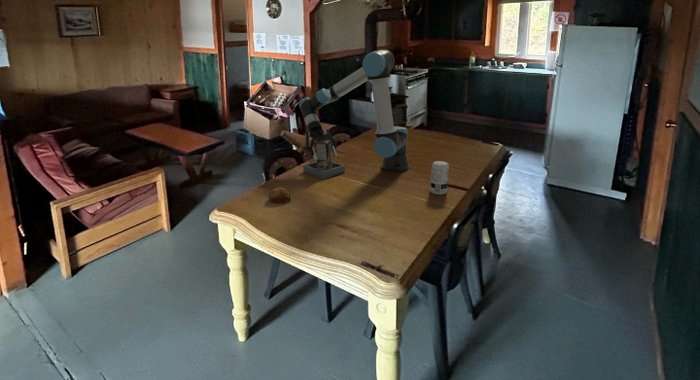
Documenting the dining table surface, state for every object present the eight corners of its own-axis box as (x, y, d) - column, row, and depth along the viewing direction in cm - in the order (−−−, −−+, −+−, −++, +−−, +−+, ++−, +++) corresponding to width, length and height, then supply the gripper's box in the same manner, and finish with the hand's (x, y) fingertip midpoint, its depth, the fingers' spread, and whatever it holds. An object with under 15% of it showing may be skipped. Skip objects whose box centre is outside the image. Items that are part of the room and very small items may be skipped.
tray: (344, 172, 271) (344, 165, 270) (322, 179, 261) (322, 172, 259) (325, 165, 282) (325, 159, 281) (303, 172, 272) (303, 165, 270)
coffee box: (328, 173, 266) (328, 144, 261) (316, 172, 268) (316, 143, 262) (332, 168, 275) (331, 139, 269) (320, 167, 276) (320, 139, 270)
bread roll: (282, 202, 240) (276, 187, 240) (297, 198, 234) (291, 182, 233) (268, 209, 233) (262, 193, 232) (283, 205, 226) (276, 188, 226)
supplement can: (428, 189, 248) (430, 160, 242) (444, 188, 248) (446, 160, 243) (432, 195, 240) (434, 165, 235) (448, 194, 241) (451, 165, 236)
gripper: (330, 125, 282) (343, 158, 275) (291, 130, 271) (304, 165, 264) (334, 117, 275) (347, 151, 268) (295, 122, 265) (308, 158, 258)
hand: (326, 158), depth 266 cm, fingers open, 11 cm apart
